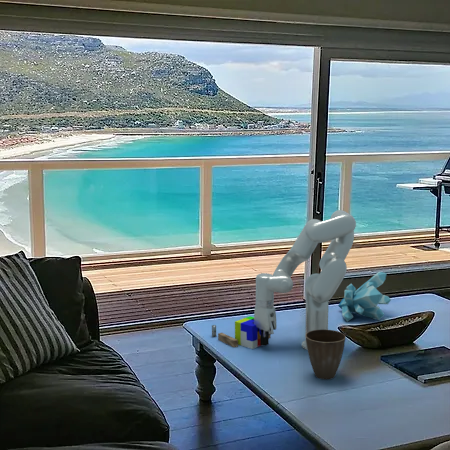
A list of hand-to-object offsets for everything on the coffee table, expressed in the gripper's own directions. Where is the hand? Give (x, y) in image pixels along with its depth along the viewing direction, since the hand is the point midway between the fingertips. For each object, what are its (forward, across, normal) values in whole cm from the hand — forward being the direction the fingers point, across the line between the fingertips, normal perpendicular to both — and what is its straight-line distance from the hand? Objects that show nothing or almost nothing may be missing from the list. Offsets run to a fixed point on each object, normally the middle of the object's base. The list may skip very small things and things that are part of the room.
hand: (264, 344), depth 277 cm
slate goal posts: (+2, +25, 0) cm, 25 cm away
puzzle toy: (+2, +8, +1) cm, 9 cm away
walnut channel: (+2, +14, 0) cm, 15 cm away
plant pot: (+2, -37, 0) cm, 37 cm away
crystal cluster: (+2, +2, -65) cm, 65 cm away
